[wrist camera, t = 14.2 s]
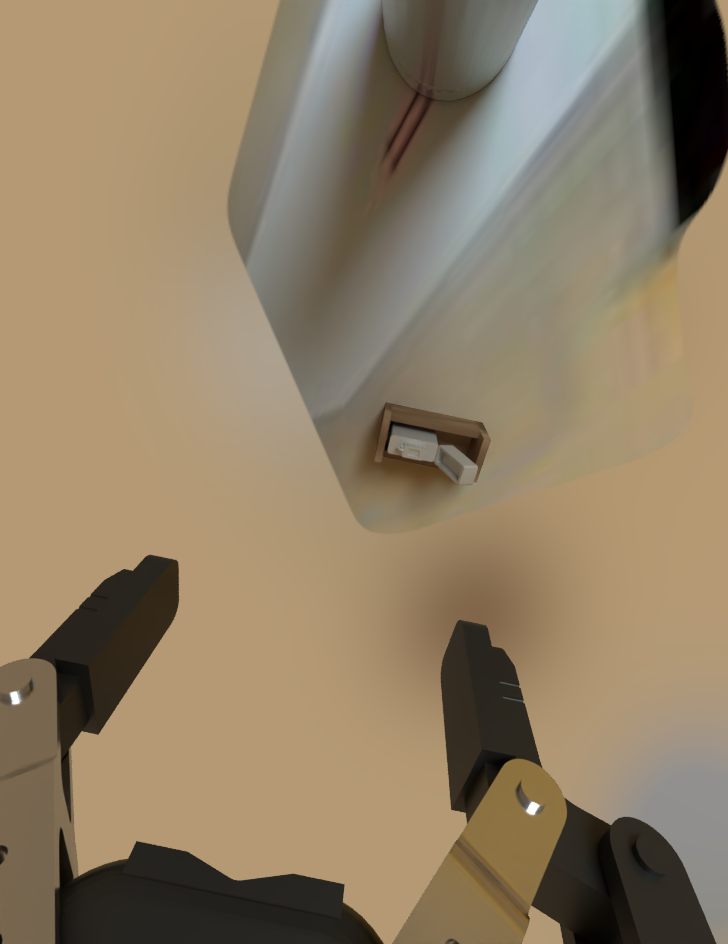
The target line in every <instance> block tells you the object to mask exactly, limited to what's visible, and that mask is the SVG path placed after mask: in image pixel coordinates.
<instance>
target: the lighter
mask: <svg viewBox="0 0 728 944" xmlns="http://www.w3.org/2000/svg"><path fill="white" fill-rule="evenodd" d="M388 453H390V454H395V455H400V456H402V457H405V458H410V459H415V460H420V461H422V460H424V461H429V462H433V461H434V463H435V464H436V465H437V466H438V467H439V468H440V469H441V470H442V471H443V472H444V473H445V474H446V475H447V476H448V477H449V478H450V479H451V480H453V481H454V482H455V483H456V484H457V485H472V484H473V482H474V479H475V476H476V473H477V470H478V466H477V465H476V464H475V463H473V462H472V461H471V460H470V459H469V458H467V457H466V456H465V455H464V454H463V453H461V452H460V451H459V450H458V449H457V448H455V447H454V446H453V445H439V446H438V441H437V436H436V430H434V429H429V428H424V427H419V426H415V425H410V424H405V423H400V422H395V421H392V424H391V428H390V433H389V441H388Z"/></svg>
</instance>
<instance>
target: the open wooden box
mask: <svg viewBox="0 0 728 944" xmlns="http://www.w3.org/2000/svg"><path fill="white" fill-rule="evenodd" d="M392 421H395V422H400V423H405V424H410V425H415V426H419V427H424V428H429V429H434V430H436V436H437V441H438V446H439V445H453V446H454V447H455V448H457V449H458V450H459V451H460V452H461V453H463V454H464V455H465V456H466V457H467V458H469V459H470V460H471V461H472V462H473V463H475V464H476V465H477V466H478V470H477V473H476V476H475V479H474V482H477V479H478V476H479V473H480V470H481V468H482V465H483V462H484V459H485V456H486V453H487V450H488V447H489V444H490V441H491V440H490V437H489V435H488V433H487V431H486V429H485V427H484V425H483V423H481V422H477V421H472V420H467V419H462V418H457V417H452V416H448V415H443V414H438V413H433V412H428V411H423V410H419V409H414V408H409V407H404V406H399V405H395V404H390V403H386V405H385V410H384V414H383V419H382V424H381V428H380V433H379V438H378V442H377V448H376V454H375V460H374V461H375V462H379V463H381V460H382V456H384V457H389V458H394V459H398V460H403V461H408V462H413V463H418V464H422V465H427V466H432V467H437V468H439V467H438V466H437V465H436V464H435V463H434V461H433V462H429V461H424V460H422V461H420V460H415V459H410V458H405V457H402V456H400V455H395V454H390V453H388V441H389V433H390V428H391V424H392Z"/></svg>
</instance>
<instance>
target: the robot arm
mask: <svg viewBox="0 0 728 944" xmlns="http://www.w3.org/2000/svg"><path fill="white" fill-rule="evenodd" d="M537 2H538V0H382V11H383V21H384V31H385V36H386V41H387V47H388V50H389V53H390V55H391V58H392V61H393V63H394V65H395V67H396V69H397V70H398V72H399V73H400V75H401V77H402V78H403V79H404V80H405V81H406V82H407V83H408V84H409V85H410V86H411V87H412V89H414V90H415V91H417V92H419V93H420V94H422V95H423V96H425V97H429V98H432V99H435V100H443V101H453V100H457V99H461V98H465V97H468V96H470V95H472V94H474V93H475V92H477V91H479V90H481V89H482V88H483V87H484V86H486V85H487V84H488V83H489V82H491V81H492V80H493V79H494V78H495V76H496V75H497V74H498V73H499V72H500V70H501V69H502V68H503V67H504V65H505V64H506V62H507V60H508V59H509V57H510V55H511V53H512V52H513V50H514V48H515V46H516V44H517V42H518V40H519V38H520V36H521V34H522V32H523V30H524V28H525V26H526V24H527V22H528V20H529V18H530V16H531V14H532V12H533V10H534V8H535V6H536V4H537ZM178 575H179V568H178V562H177V560H173V559H168V558H163V557H159V556H154V555H148V556H146V557H145V558H144V559H143V561H141V562H140V564H139V565H138V566H137V567H136V568H135V569H134V570H133V571H131V570H126V569H123V570H121V571H120V572H118V573H116V574H115V575H113V576H111V577H109V578H107V579H106V580H104V581H103V582H102V583H101V584H100V585H99V587H97V589H95V590H94V592H93V593H92V594H91V596H90V597H88V598H87V599H86V600H85V601H84V602H83V603H82V604H81V605H80V606H79V609H76V610H75V611H74V612H73V613H72V614H71V615H70V616H69V618H68V619H67V620H66V621H65V622H64V623H63V624H62V625H61V626H60V627H59V628H58V629H57V630H56V631H55V632H54V633H53V634H52V635H51V636H50V637H49V638H48V639H47V641H46V642H45V643H44V644H43V645H42V646H41V647H40V648H39V649H38V650H37V651H36V652H35V653H34V654H33V655H32V656H31V657H30V658H29V659H22V660H18V661H14V662H11V663H8V664H6V665H4V666H2V667H0V944H383V942H382V940H381V939H380V938H379V936H378V935H377V933H376V932H375V931H374V929H373V928H372V927H371V926H370V925H369V924H368V923H367V921H366V920H365V919H364V918H363V917H362V916H361V915H359V914H358V913H357V912H356V911H354V910H353V909H352V908H351V907H349V906H348V905H346V904H345V903H343V893H344V884H340V883H335V882H330V881H326V880H321V879H316V878H311V877H306V876H301V875H297V874H288V875H280V876H273V877H265V878H257V879H250V880H242V881H237V880H233V879H231V878H229V877H228V876H226V875H224V874H222V873H221V872H219V871H218V870H216V869H215V868H213V867H211V866H210V865H208V864H206V863H205V862H203V861H202V860H200V859H198V858H197V857H195V856H193V855H192V854H190V853H189V852H186V851H181V850H176V849H171V848H167V847H162V846H157V845H152V844H147V843H142V842H136V844H135V846H134V848H133V850H132V852H131V854H130V856H129V858H128V859H123V860H118V861H115V862H111V863H108V864H104V865H102V866H99V867H97V868H94V869H92V870H90V871H88V872H86V873H84V874H82V875H80V876H78V862H77V853H76V844H75V833H74V811H73V788H72V787H73V786H72V760H71V748H70V747H71V745H72V744H73V743H74V741H75V739H76V738H77V737H78V735H79V734H80V733H81V731H84V732H88V733H93V734H99V733H100V731H101V730H102V728H103V727H104V725H105V723H106V722H107V720H108V719H109V718H110V716H111V714H112V713H113V711H114V710H115V708H116V707H117V705H118V704H119V702H120V701H121V699H122V698H123V696H124V695H125V693H126V692H127V690H128V689H129V687H130V686H131V684H132V683H133V681H134V679H135V678H136V676H137V675H138V673H139V672H140V670H141V669H142V667H143V666H144V664H145V663H146V661H147V660H148V658H149V657H150V655H151V654H152V652H153V651H154V649H155V648H156V646H157V644H158V643H159V642H160V640H161V639H162V637H163V635H164V634H165V632H166V631H167V629H168V628H169V626H170V625H171V623H172V621H173V619H174V617H175V614H176V612H177V608H178V603H179V576H178ZM441 689H442V701H443V713H444V726H445V738H446V750H447V762H448V775H449V787H450V800H451V809H452V810H455V811H460V812H465V813H466V818H467V825H466V827H465V829H464V830H463V832H462V833H461V835H460V837H459V838H458V840H457V841H456V842H455V843H454V845H453V847H452V848H451V849H450V851H449V853H448V854H447V856H446V858H445V859H444V861H443V862H442V864H441V866H440V867H439V869H438V871H437V872H436V874H435V875H434V877H433V879H432V880H431V882H430V884H429V885H428V887H427V888H426V890H425V892H424V893H423V895H422V897H421V898H420V900H419V901H418V903H417V905H416V906H415V908H414V909H413V911H412V913H411V914H410V916H409V917H408V919H407V921H406V923H405V924H404V926H403V927H402V929H401V930H400V932H399V934H398V935H397V937H396V938H395V940H394V942H393V943H392V944H522V941H523V939H524V936H525V933H526V931H527V928H528V925H529V919H530V918H529V916H528V912H529V909H530V906H531V905H532V906H533V907H535V908H536V909H538V910H540V911H541V912H543V913H544V914H546V915H547V916H549V917H550V918H552V919H553V920H555V921H557V922H558V923H560V927H561V932H562V938H563V943H564V944H716V942H715V939H714V937H713V935H712V932H711V930H710V928H709V925H708V923H707V920H706V918H705V915H704V913H703V911H702V908H701V906H700V904H699V901H698V899H697V896H696V894H695V892H694V889H693V887H692V884H691V882H690V879H689V877H688V875H687V872H686V870H685V868H684V866H683V863H682V861H681V860H680V858H679V856H678V855H677V853H676V852H675V851H674V849H673V848H672V846H671V845H670V844H669V843H668V842H667V840H666V839H664V837H663V836H662V835H661V834H660V833H658V832H657V831H656V830H654V828H652V827H650V826H649V825H648V824H646V823H644V822H642V821H640V820H638V819H635V818H631V817H622V818H618V819H617V820H616V821H615V822H614V823H613V824H612V825H609V824H608V823H605V822H604V821H602V820H600V819H598V818H597V817H595V816H593V815H591V814H589V813H587V812H586V811H584V810H582V809H580V808H579V807H577V806H575V805H574V804H572V803H571V802H569V801H568V800H567V799H566V798H564V796H563V794H562V791H561V790H560V788H559V786H558V785H557V783H556V782H555V780H554V779H553V778H552V777H551V776H550V775H549V774H548V773H547V772H546V771H545V770H544V769H543V768H542V765H541V762H540V759H539V755H538V751H537V748H536V744H535V740H534V737H533V733H532V729H531V726H530V722H529V718H528V714H527V710H526V707H525V704H524V703H523V696H522V692H521V688H519V681H518V677H517V673H516V669H515V666H514V664H513V663H512V662H511V660H510V659H509V657H508V656H507V654H506V653H505V651H504V650H503V649H502V648H497V647H492V645H491V641H490V636H489V632H488V628H487V627H486V625H481V624H477V623H472V622H467V621H462V620H459V621H458V622H457V624H456V626H455V628H454V631H453V634H452V636H451V639H450V642H449V644H448V647H447V649H446V652H445V655H444V658H443V662H442V667H441Z"/></svg>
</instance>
